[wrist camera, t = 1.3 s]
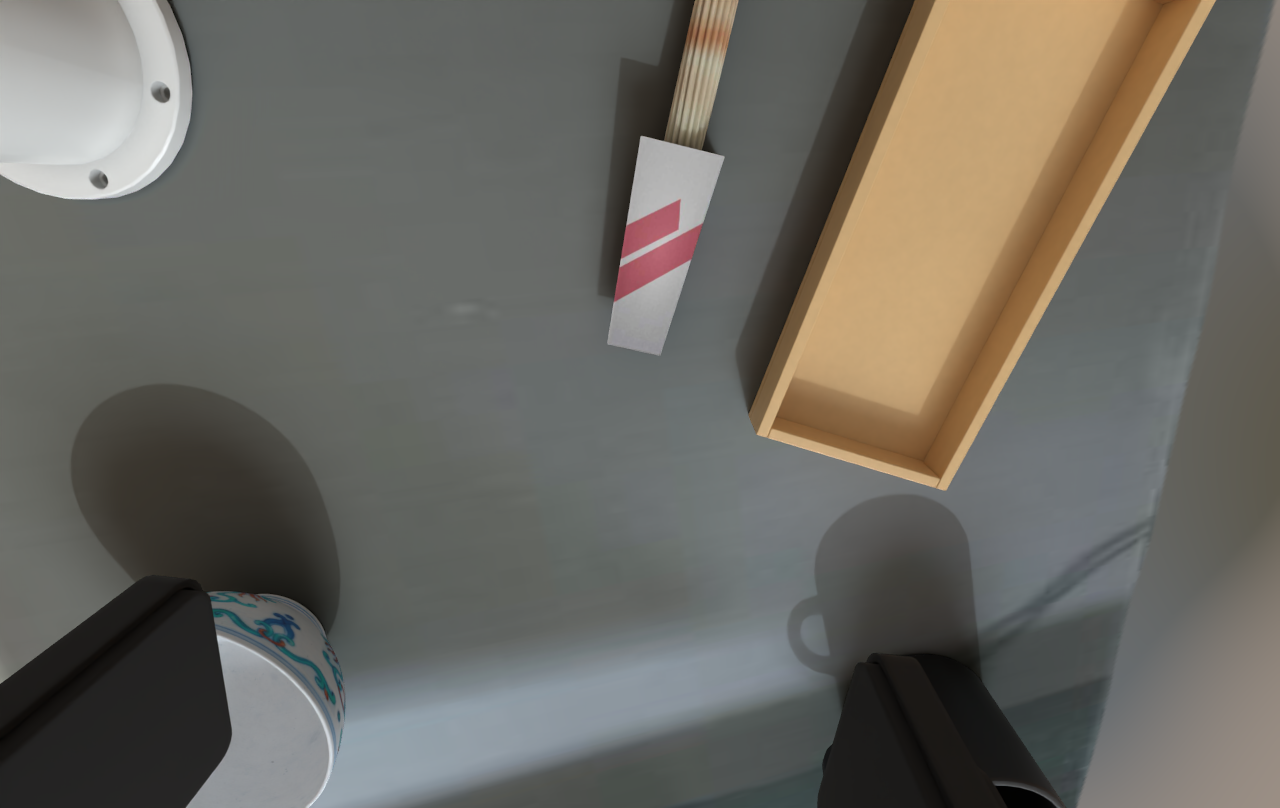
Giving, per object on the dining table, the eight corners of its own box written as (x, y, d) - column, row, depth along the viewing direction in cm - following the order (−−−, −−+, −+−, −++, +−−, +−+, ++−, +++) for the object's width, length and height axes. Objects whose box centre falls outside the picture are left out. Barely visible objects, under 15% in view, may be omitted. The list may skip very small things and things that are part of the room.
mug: (807, 655, 39) (850, 785, 31) (993, 648, 39) (1090, 778, 30) (802, 760, 42) (841, 905, 34) (974, 755, 42) (1057, 900, 33)
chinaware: (174, 504, 36) (54, 583, 29) (415, 584, 38) (359, 678, 30) (147, 682, 41) (39, 789, 33) (362, 746, 42) (303, 861, 35)
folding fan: (593, 347, 29) (703, -145, 23) (597, 336, 32) (697, -108, 26) (670, 365, 29) (798, -117, 23) (668, 353, 32) (782, -83, 26)
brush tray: (747, 415, 33) (756, 434, 31) (949, -89, 25) (984, -121, 23) (923, 468, 34) (946, 491, 32) (1171, -2, 26) (1229, -23, 24)
